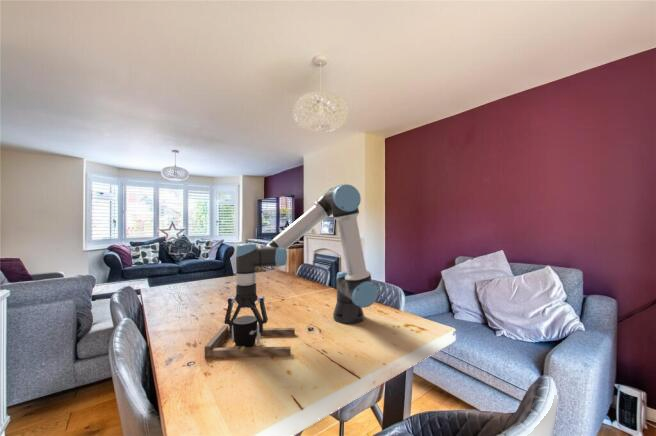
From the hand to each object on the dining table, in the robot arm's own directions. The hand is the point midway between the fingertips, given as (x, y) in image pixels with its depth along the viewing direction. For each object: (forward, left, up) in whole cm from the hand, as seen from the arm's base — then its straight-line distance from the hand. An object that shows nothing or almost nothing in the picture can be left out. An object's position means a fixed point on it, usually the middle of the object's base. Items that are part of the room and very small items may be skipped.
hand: (246, 341), depth 104 cm
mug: (0, 0, -1) cm, 1 cm away
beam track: (-3, 0, -1) cm, 3 cm away
